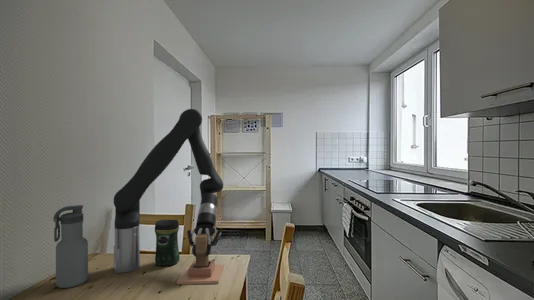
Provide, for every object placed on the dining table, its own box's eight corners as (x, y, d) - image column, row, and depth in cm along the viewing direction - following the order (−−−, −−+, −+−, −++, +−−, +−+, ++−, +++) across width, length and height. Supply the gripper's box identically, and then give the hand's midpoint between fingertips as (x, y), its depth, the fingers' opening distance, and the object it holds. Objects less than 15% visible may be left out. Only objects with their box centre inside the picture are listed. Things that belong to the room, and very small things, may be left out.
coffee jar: (182, 260, 126) (181, 217, 127) (173, 267, 119) (173, 222, 119) (161, 259, 128) (161, 217, 128) (151, 266, 120) (151, 221, 120)
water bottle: (51, 291, 99) (51, 210, 99) (57, 280, 107) (57, 205, 108) (86, 285, 103) (85, 207, 103) (89, 275, 112) (89, 203, 112)
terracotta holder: (218, 283, 103) (218, 272, 103) (176, 284, 103) (176, 273, 103) (224, 267, 118) (224, 257, 118) (187, 267, 118) (187, 257, 118)
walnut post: (206, 268, 108) (205, 236, 109) (195, 268, 108) (195, 237, 109) (208, 264, 112) (208, 233, 113) (198, 264, 112) (197, 234, 113)
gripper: (188, 211, 118) (180, 251, 106) (222, 210, 118) (218, 250, 106) (191, 221, 123) (184, 260, 111) (224, 220, 123) (221, 259, 111)
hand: (201, 255), depth 109 cm, fingers closed on walnut post, 4 cm apart
